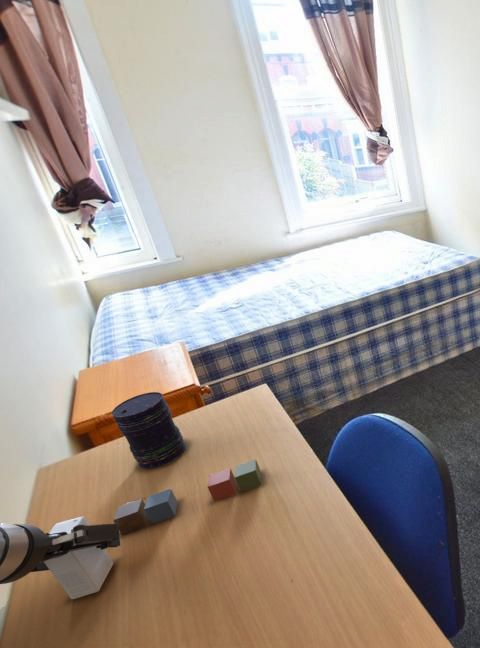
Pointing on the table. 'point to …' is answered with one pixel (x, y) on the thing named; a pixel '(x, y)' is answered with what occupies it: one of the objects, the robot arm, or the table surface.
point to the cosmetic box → (79, 565)
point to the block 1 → (131, 516)
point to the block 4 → (248, 475)
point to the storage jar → (149, 430)
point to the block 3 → (222, 484)
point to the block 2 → (161, 506)
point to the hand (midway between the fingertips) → (87, 549)
